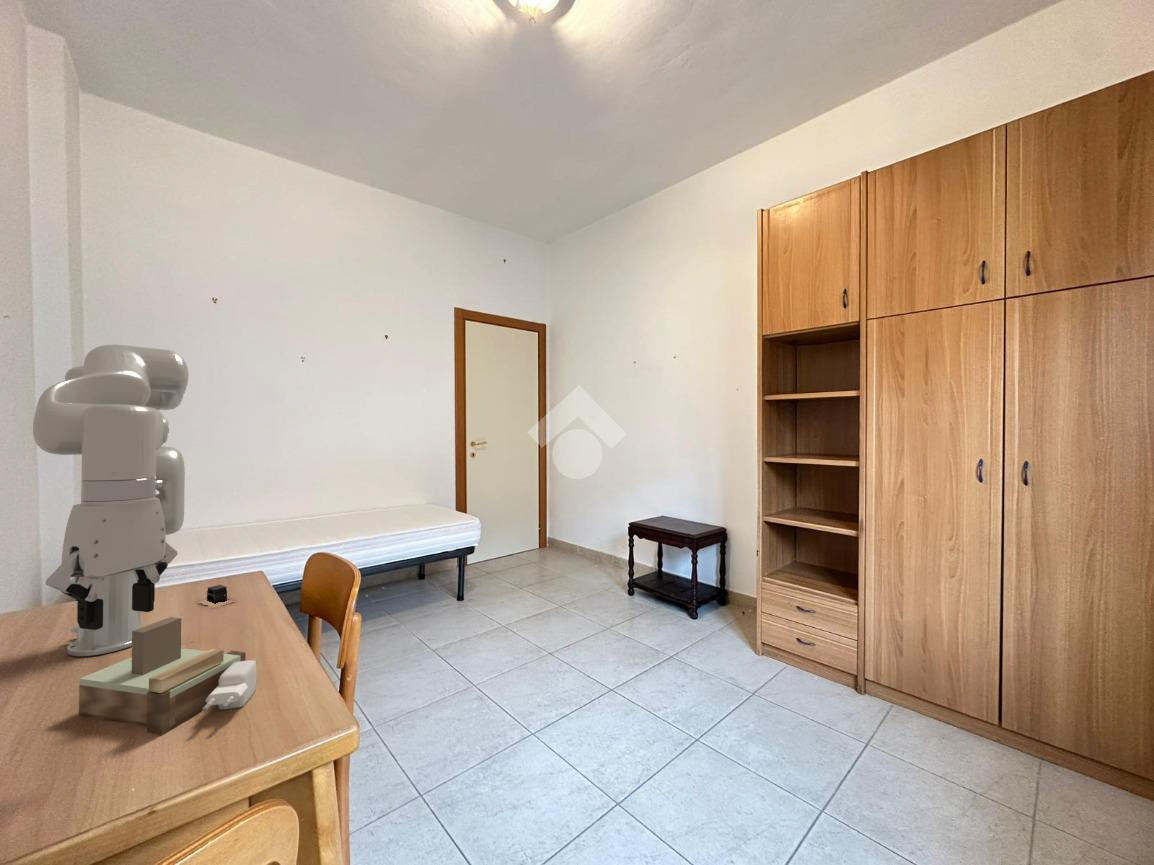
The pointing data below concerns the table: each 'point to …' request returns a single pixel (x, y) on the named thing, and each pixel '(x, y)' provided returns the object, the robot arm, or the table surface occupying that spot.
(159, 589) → the table surface
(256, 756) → the table surface
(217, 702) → the power adapter
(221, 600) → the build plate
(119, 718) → the brown wooden open box
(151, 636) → the lid
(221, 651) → the tan rectangular block
